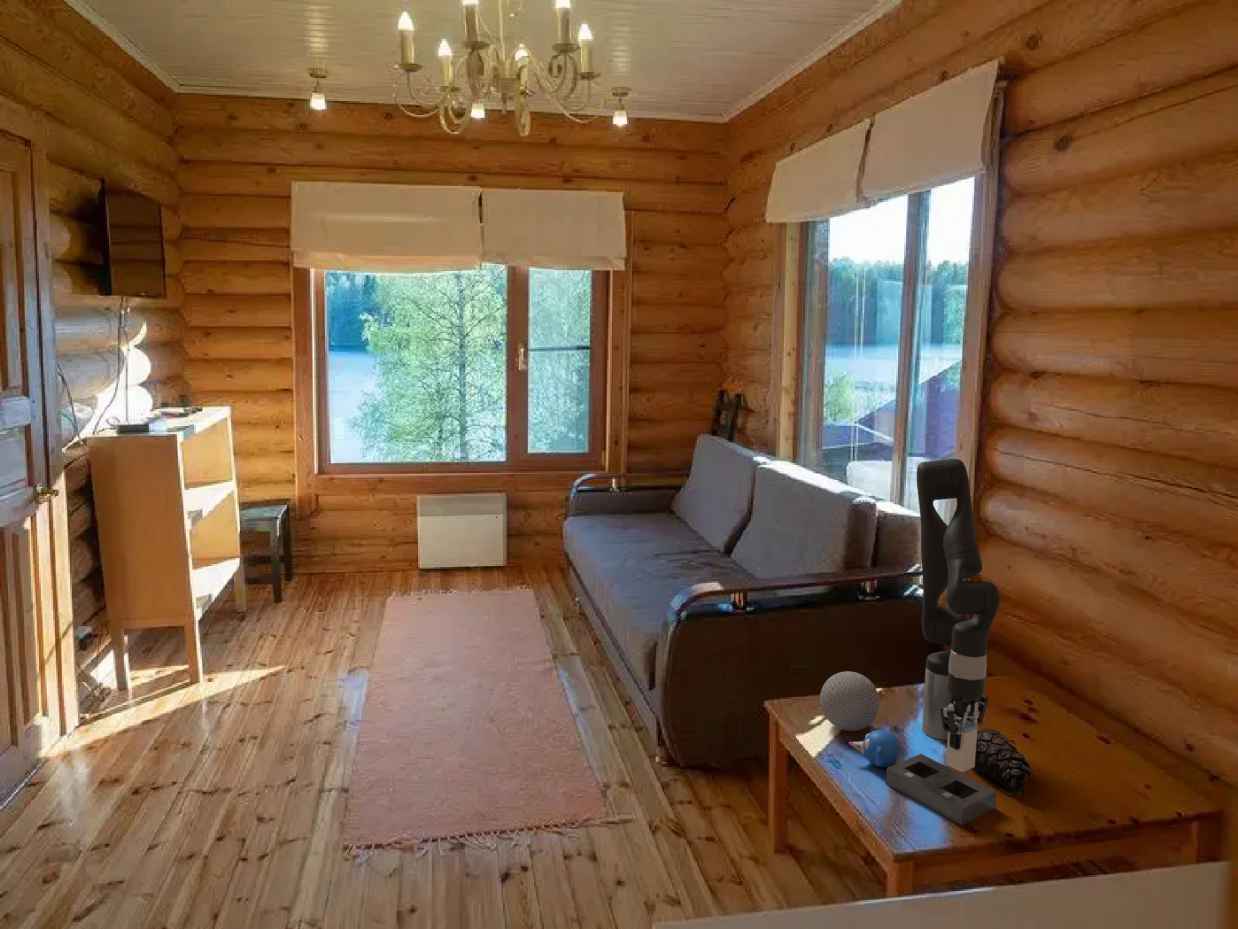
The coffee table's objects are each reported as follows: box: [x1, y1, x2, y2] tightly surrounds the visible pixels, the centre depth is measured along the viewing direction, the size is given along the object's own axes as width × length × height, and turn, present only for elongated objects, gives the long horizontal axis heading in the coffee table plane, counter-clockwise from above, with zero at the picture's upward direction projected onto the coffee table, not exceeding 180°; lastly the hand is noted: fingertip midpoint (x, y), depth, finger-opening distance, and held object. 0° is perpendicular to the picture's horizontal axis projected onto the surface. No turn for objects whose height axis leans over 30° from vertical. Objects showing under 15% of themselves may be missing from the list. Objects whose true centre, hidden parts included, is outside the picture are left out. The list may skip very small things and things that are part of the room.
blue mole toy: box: [848, 729, 901, 768], centre depth 214 cm, size 12×12×8 cm
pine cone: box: [971, 728, 1032, 797], centre depth 207 cm, size 10×18×10 cm, turn 22°
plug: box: [945, 717, 979, 773], centre depth 193 cm, size 4×4×11 cm
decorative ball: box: [819, 671, 881, 732], centre depth 231 cm, size 15×15×15 cm
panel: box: [885, 753, 998, 827], centre depth 200 cm, size 12×20×4 cm, turn 34°
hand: (961, 745), depth 193 cm, fingers closed on plug, 4 cm apart
